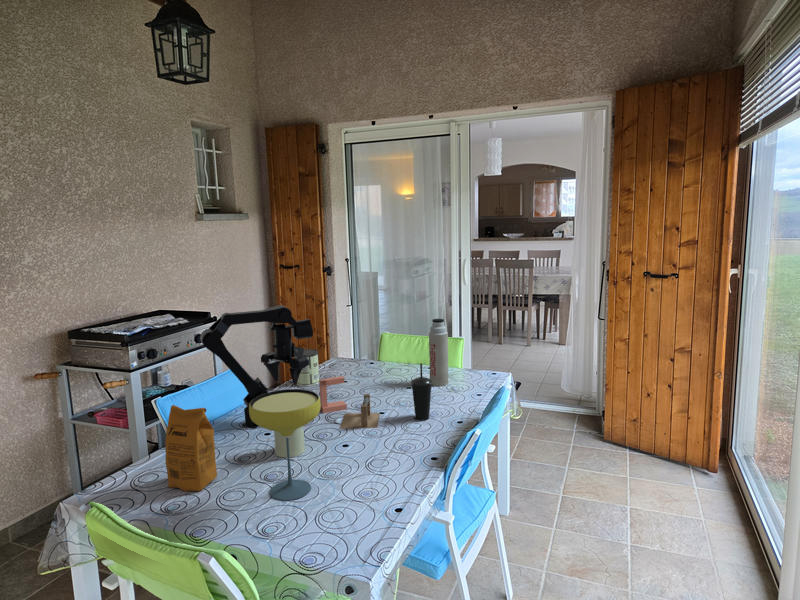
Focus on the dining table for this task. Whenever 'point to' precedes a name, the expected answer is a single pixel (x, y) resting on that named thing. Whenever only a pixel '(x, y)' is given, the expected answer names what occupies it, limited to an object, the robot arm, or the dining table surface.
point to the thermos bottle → (438, 353)
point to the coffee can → (309, 369)
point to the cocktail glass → (286, 428)
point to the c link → (323, 395)
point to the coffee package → (190, 449)
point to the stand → (361, 417)
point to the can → (290, 443)
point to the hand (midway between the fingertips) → (285, 383)
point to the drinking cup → (421, 396)
